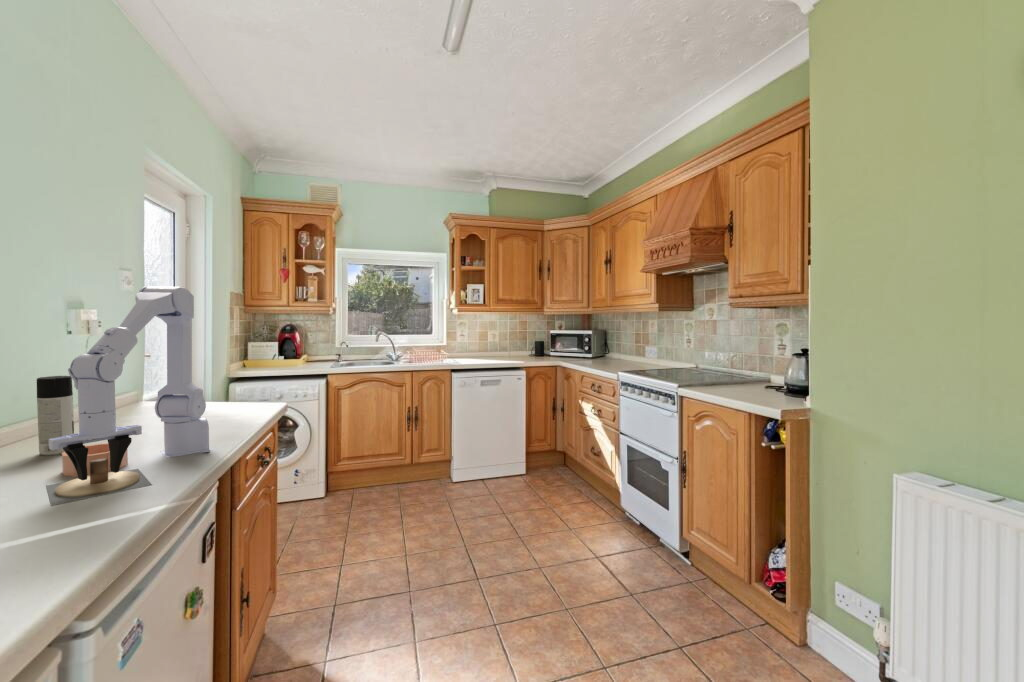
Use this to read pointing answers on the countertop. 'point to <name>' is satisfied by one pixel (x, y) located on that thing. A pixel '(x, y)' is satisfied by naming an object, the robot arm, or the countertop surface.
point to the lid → (97, 481)
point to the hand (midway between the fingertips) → (99, 475)
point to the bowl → (90, 459)
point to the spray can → (54, 411)
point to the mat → (61, 500)
